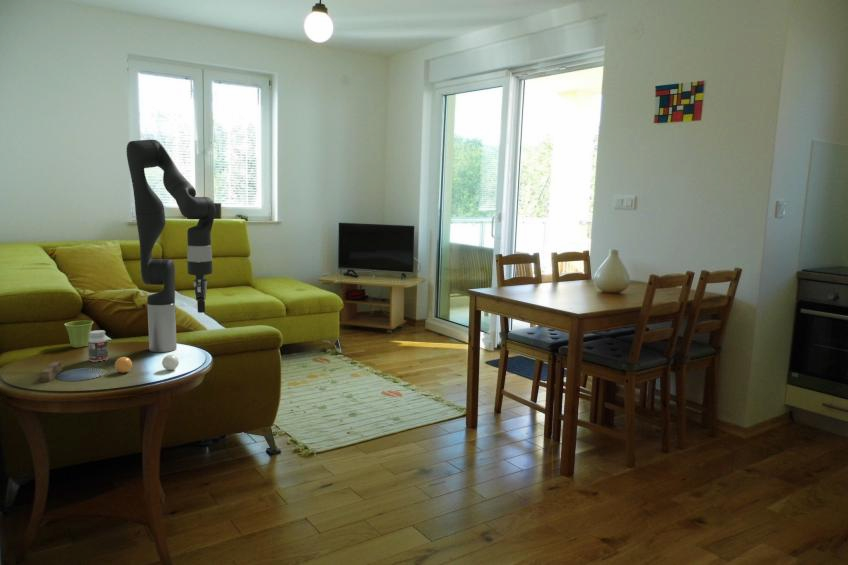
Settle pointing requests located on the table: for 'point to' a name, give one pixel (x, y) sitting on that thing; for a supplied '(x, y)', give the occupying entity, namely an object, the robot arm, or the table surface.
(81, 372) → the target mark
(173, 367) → the cue ball
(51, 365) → the stopper wall
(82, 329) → the plant pot
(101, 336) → the pill bottle
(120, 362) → the object ball
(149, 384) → the table surface
